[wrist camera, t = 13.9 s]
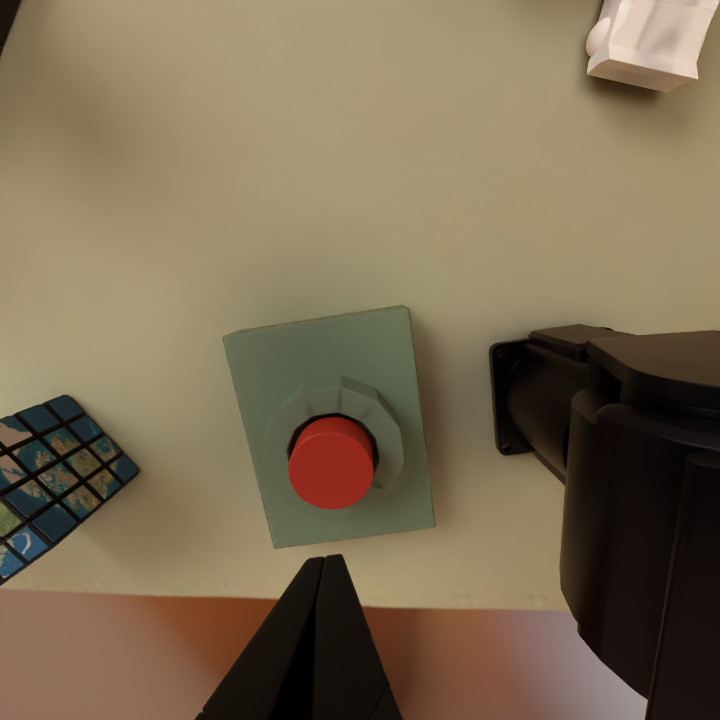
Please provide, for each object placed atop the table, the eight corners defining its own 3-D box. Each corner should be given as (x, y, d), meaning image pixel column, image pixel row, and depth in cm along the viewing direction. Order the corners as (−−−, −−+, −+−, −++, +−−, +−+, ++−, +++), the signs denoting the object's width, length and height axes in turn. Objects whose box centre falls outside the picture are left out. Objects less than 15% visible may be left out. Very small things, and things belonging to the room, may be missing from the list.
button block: (428, 502, 21) (444, 553, 17) (282, 522, 21) (264, 577, 17) (403, 304, 18) (415, 310, 14) (237, 330, 18) (204, 343, 14)
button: (377, 481, 16) (379, 504, 15) (303, 491, 16) (296, 515, 15) (366, 411, 16) (367, 426, 14) (288, 422, 16) (280, 439, 14)
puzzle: (-5, 450, 20) (-157, 520, 14) (67, 392, 19) (-62, 440, 13) (70, 523, 21) (-41, 616, 15) (142, 471, 20) (54, 547, 14)
